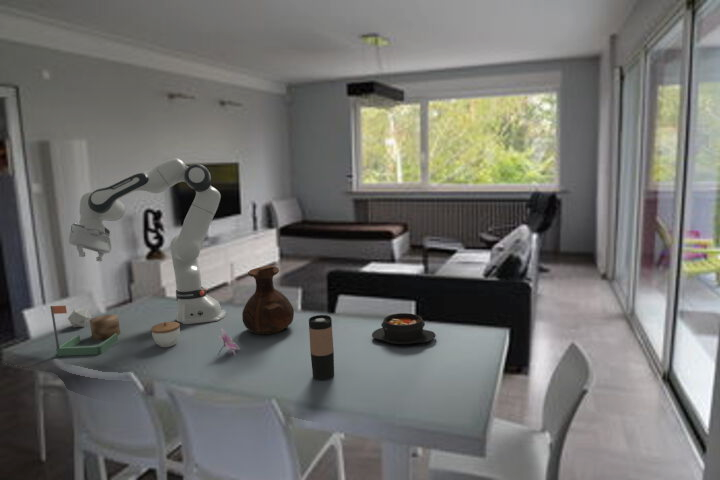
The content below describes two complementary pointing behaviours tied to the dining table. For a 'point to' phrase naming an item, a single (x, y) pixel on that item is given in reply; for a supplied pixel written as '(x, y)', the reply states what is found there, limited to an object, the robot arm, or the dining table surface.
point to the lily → (228, 342)
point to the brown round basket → (104, 327)
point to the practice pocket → (78, 340)
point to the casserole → (403, 329)
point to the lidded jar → (166, 333)
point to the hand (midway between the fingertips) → (90, 258)
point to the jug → (267, 304)
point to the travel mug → (321, 347)
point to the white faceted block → (79, 318)
